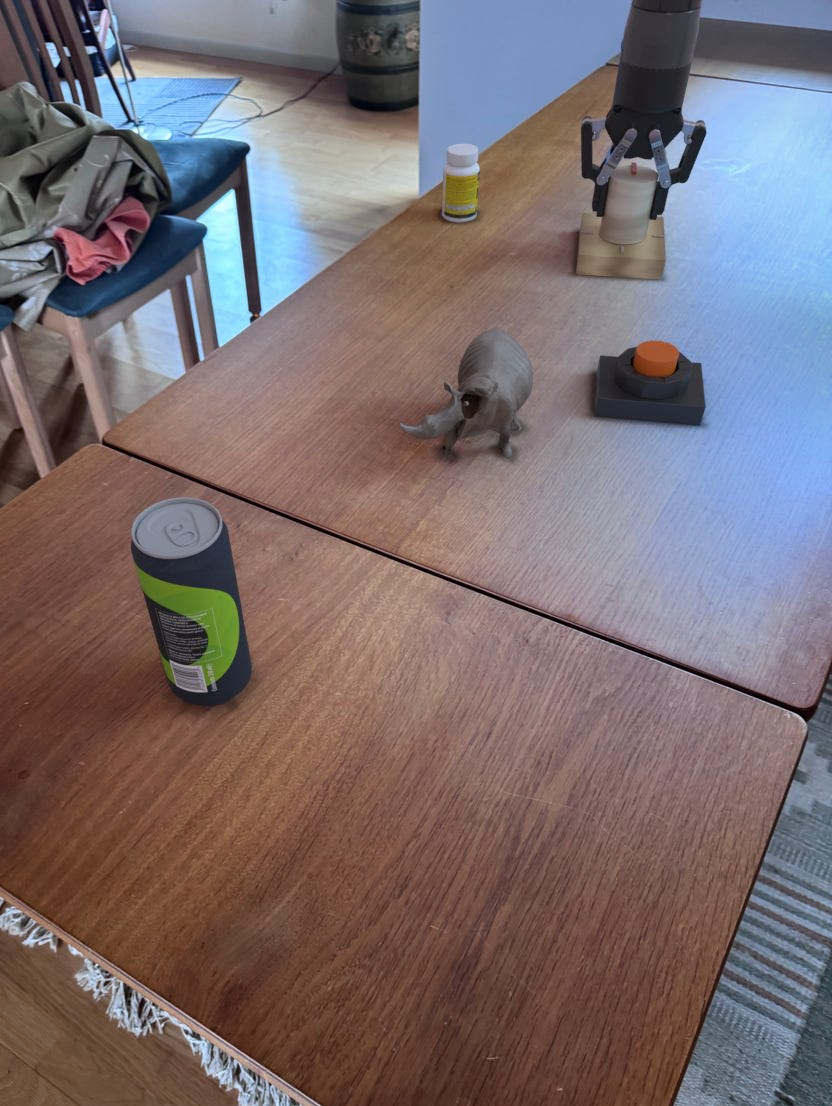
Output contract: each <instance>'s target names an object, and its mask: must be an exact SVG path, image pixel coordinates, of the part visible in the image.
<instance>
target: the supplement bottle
mask: <svg viewBox="0 0 832 1106" xmlns="http://www.w3.org/2000/svg"><path fill="white" fill-rule="evenodd" d="M445 160H446V163H445V164H444V165H443V168H442V193H441V216H442V218H443V219H444V220H446V221H448V222H450V223H457V224H458V223H466V222H471V221H473V220H474V219H476V218H477V216H478V203H479V190H480V189H479V188H480V176H481V175H480V174H481V167H480V165H479V163H478V160H479V148H478V146H476V145H475V144H471V143H456V144H455V143H454V144H452V145H450V146H448V147H447V149H446V158H445Z"/></svg>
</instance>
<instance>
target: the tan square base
mask: <svg viewBox="0 0 832 1106" xmlns="http://www.w3.org/2000/svg"><path fill="white" fill-rule="evenodd" d="M601 219H602V217H596V212H582V213H581V220H580V227H579V235H578V245H577V246H578V247H577V257H576V268H575V275H579V276H580V275H582V276H583V275H584V276H585V275H586V276H596V277H597V276H598V277H611V278H612V277H614V278H629V279H630V278H631V279H645V280H662V279H663V275H664V270H665V265H666V260H667V258H666V257H667V255H666V238H665V236H666V235H665V234H666V233H665V221H664V219H665V218H664V216H657V219H656V220H649V225H648V230H647V235H646V238H645V239H644V240H643V241H641V242H639V243H636V244H629V245H622V244H615V243H611V242H608V241H606V240H604V239H602V238H601V237H600V235H599V231H600V225H601Z"/></svg>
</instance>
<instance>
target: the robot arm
mask: <svg viewBox="0 0 832 1106" xmlns="http://www.w3.org/2000/svg"><path fill="white" fill-rule="evenodd" d="M703 1H704V0H631V3H630V7H629V12H628V16H627V19H626V22H625V26H624V30H623V36H622V40H621V43H620V55H619V60H618V61H619V62H618V68H617V72H616V78H615V85H614V91H613V97H612V103H611V107H610V109H609V111H608V113H607V114H606V116H604V117H596V118H592V117H591V116H590V115H585V116H583V118H582V119H581V126H580V155H581V156H580V158H581V159H580V161H581V163H580V164H581V167H580V168H581V178H583V179H584V180H590V181H592V182H593V183H594V187H593V194H592V201H591V210H592V213H596V217H602V215H603V210H604V204H605V198H606V192H607V184H608V179H609V177H610V175H611V174H612V172H613V171H614V169H615V168H616V167H619V164H620V163H621V161H622V159H624V160H627V159H628V160H633V159H635V158H636V159H637V158H639V159H643V160H647V161H648V160H649V161H651V160H653V159H654V164H655V168H656V172H657V173H658V181H657V186H656V191H655V196H654V201H653V206H652V211H651V215H650V220H656V219H657V217H658V216H662V215H663V214H664V212H665V209H666V204H667V200H668V195H669V190H670V189H671V187H672V186H673V185H675V184H685V183H687V182H688V181H689V179H690V176H691V173H692V171H693V169H694V166H695V163H696V161H697V158H698V156H699V153H700V152H701V148H702V146H703V143H704V141H705V138H706V136H707V127H706V126H707V125H706V122H705V121H704V120H702V119H699V120H697V121H691V120H687V119H684V117H683V106H684V101H685V96H686V92H687V87H688V82H689V78H690V73H691V69H692V64H693V59H694V55H695V49H696V46H697V41H698V35H699V29H700V21H701V20H700V19H701V11H702V4H703ZM604 129H605V130H606V132H607V135H608V136H609V139H610V140H611V141H610V142H611V145H610V147H609V148H608V150H607V152H606V154H605V157H604V158H603V160H602V162H601V163H600V165H597V164H595V163H593V162H594V161H593V159H594V157H593V155H594V154H593V149H594V148H593V142H595V141H597V140H599V138H600V134H601V132H602V131H603V130H604ZM680 133H683V142H684V144H685V147H684V149H683V152H682V155H681V157H680V160H679V162H678V166H677V167H674V168H670V164H669V160H668V154H667V151H666V148H667V147H668V146H669V145H670V143H672V141H673V140H675V138H677V136H678V135H679V134H680Z"/></svg>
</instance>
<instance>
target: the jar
mask: <svg viewBox="0 0 832 1106" xmlns="http://www.w3.org/2000/svg"><path fill="white" fill-rule="evenodd" d="M657 181H659V176H658V172H657V170H655V169H654V168H651V167H648V166H643V165H637V162H631V164H627V165H618V166H617V167H616V168H615V169H614V171H613V172H612V174H611V175H610V177H609V179H608V184H607V192H606V198H605V204H604V210H603V215H602V219H601V225H600V231H599V235H600V237H601V238H602V239H604V240H606V241H608V242H611V243H615V244H622V245H629V244H636V243H639V242H641V241H643V240H644V239H645V238H646V235H647V230H648V225H649V220H650V215H651V211H652V206H653V201H654V196H655V191H656V186H657Z"/></svg>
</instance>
